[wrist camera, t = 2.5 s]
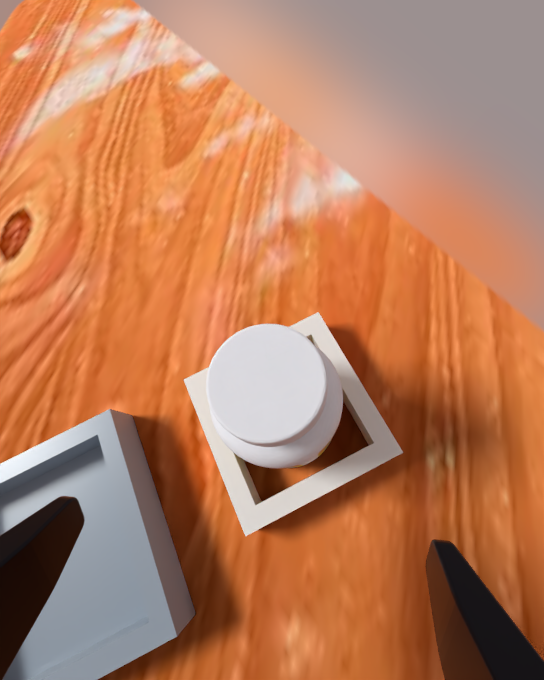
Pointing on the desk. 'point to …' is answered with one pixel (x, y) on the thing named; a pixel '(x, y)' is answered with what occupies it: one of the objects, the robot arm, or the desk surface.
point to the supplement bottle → (274, 396)
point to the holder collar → (320, 483)
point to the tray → (98, 553)
